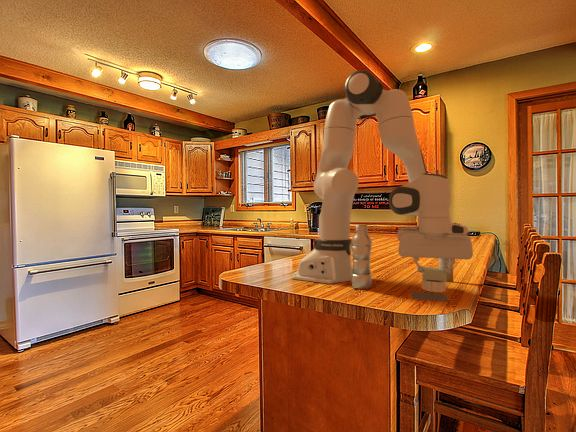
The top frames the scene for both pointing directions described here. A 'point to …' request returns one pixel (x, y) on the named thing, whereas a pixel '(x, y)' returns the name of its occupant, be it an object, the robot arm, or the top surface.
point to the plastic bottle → (361, 258)
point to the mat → (429, 296)
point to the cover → (434, 274)
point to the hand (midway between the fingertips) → (433, 272)
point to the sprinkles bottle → (442, 264)
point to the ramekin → (433, 285)
